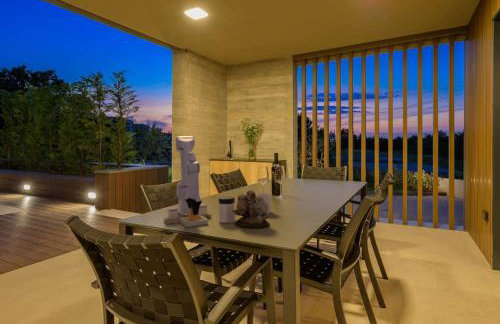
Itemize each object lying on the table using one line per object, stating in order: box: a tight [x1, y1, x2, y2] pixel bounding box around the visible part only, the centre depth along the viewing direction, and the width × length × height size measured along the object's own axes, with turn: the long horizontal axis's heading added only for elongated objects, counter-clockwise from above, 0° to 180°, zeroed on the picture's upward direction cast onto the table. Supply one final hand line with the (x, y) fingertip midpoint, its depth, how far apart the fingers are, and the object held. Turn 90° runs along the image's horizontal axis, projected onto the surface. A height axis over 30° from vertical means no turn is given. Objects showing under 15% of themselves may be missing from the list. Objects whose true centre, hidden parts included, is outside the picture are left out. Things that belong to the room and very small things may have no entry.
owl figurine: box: [232, 189, 271, 230], centre depth 147 cm, size 18×12×17 cm, turn 77°
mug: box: [256, 192, 272, 215], centre depth 174 cm, size 12×8×10 cm, turn 78°
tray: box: [180, 215, 209, 228], centre depth 153 cm, size 11×11×2 cm
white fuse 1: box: [167, 206, 179, 220], centre depth 157 cm, size 4×4×7 cm
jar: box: [218, 195, 236, 224], centre depth 156 cm, size 9×8×12 cm
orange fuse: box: [187, 208, 199, 222], centre depth 153 cm, size 4×4×7 cm
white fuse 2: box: [198, 203, 208, 215], centre depth 165 cm, size 4×4×7 cm
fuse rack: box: [163, 212, 212, 225], centre depth 161 cm, size 7×23×2 cm, turn 120°
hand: (193, 213), depth 152 cm, fingers open, 5 cm apart
